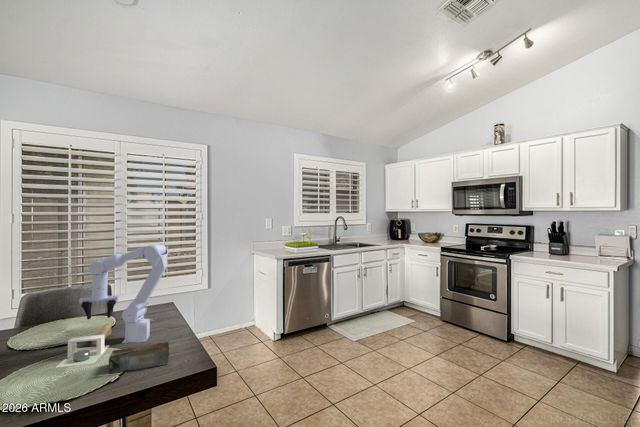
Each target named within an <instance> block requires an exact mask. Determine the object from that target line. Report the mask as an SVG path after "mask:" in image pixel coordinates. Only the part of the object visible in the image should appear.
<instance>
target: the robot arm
mask: <svg viewBox="0 0 640 427" xmlns="http://www.w3.org/2000/svg"><path fill="white" fill-rule="evenodd" d="M168 256H169V250H168V248H167V247H166V244H165V245H164V244H163V243H157V244H153V245H152V244H151V245H150V244H149V245H147V246H143V247H139V248H136V249H133V250H132V251H128V252H127V253H124V254H121V253H116V252H115V253H112V254H111V255H110V256H108V257H102V258H101V259H100V260H94V261H93V262H91V263H90V264H89V267H88V270H89V272H90V273H91V296H89V297H87V296H86V297H81V298H79V299H78V300H79V302H78V303H79V304H81V308H82V309H83V311H84V313H85V315H86V319H87V320H90V319H91V318H92V304H93V303H101V302H107V303H106V305H107V306H106V307H107V319H110V318H111V316H112V312H113V310H114V308H115V305H116V303H117V302H118V301H119V299H120V296H119V295H108V287H109V286H108V278H109V277H108V276H109V271H112V270H114V269H116V268H119V267H122V266H124V265H125V264H126V262H127V261H131V260H133V259H135V258H139V257H141V258H145V259H146V260H147V262H148V263H149V264H150V265H151V267H152V268H151V270H150V272H149V273H148V275H147V277H146V279H145V281H144V283H143V284H142V286H141V288H140V289H139V291H138V293H137V295H136V296H135V298H134V299H133V300H132V302H131V303H130V304H129V305H128V306H127V307H126V308H125V309H124V310H123V311H122V313H121V318H122V319H123V320H124V326H125V328H124V332H125V333H124V334H125V335H124V340H122V342H121V344H127V343H139V342H146V341H147V340H148V339H149V337H150V335H151V334H150V332H151V320H150V319H149V318H145V314H147V310H148V305H149V301H150V300H149V299H150V298H151V296H152V295H153V293H154V291H155V290H156V287H157V286H158V284H159V282H160V280H161V279H162V277H163V275H164V274H165V272H166V270H167V268H168Z"/></svg>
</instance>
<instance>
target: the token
mask: <svg viewBox="0 0 640 427" xmlns="http://www.w3.org/2000/svg"><path fill="white" fill-rule="evenodd" d="M89 358H90V351H89V350H82V351H78V352H76V353H74V354H73V361H74V362H82V361H85V360H87V359H89Z"/></svg>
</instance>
